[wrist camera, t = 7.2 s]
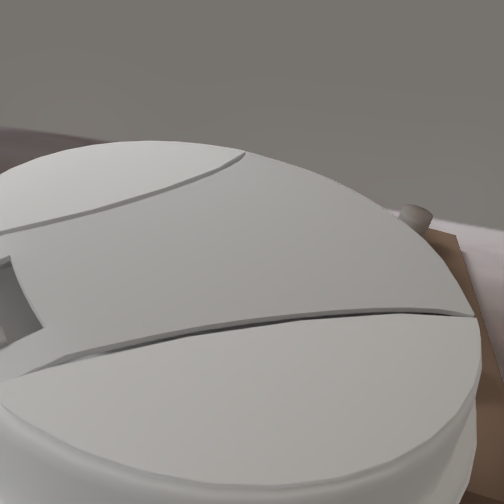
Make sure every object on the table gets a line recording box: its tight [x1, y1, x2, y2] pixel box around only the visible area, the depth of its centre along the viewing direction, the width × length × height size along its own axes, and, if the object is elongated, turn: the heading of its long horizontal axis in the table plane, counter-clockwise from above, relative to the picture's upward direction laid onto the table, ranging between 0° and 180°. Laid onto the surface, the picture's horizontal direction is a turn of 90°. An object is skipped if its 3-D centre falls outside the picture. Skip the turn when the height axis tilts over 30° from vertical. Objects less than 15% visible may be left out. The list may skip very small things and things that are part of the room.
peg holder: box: [398, 204, 504, 504], centre depth 28 cm, size 22×22×4 cm
